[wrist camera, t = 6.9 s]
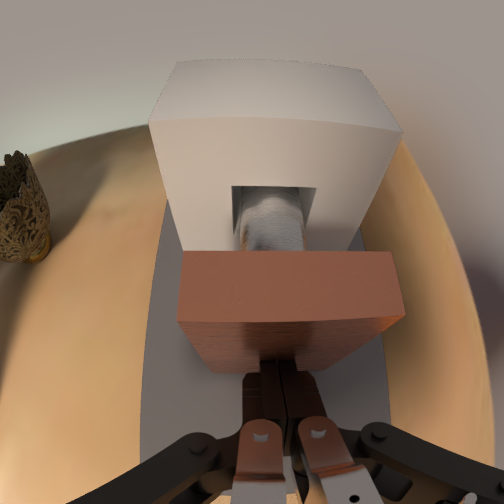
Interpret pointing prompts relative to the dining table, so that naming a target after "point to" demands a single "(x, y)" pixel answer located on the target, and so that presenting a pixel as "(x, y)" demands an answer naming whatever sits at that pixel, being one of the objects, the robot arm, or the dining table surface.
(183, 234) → the peg hole fixture
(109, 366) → the dining table surface
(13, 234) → the cup
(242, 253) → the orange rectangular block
